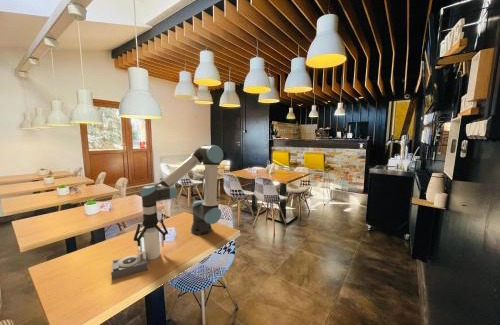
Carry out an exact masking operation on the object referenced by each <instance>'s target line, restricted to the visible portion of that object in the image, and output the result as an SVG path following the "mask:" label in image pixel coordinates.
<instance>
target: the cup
mask: <svg viewBox="0 0 500 325" xmlns="http://www.w3.org/2000/svg"><path fill="white" fill-rule="evenodd" d="M143 244H144V247H143V248H144V253H145V255H146V260H154V259H158V258H159V257H160V256H161V245H160V232H159V230H157V229H156V228H155V227H154V228H150V229H147V230H146V231H145V232H144V234H143Z"/></svg>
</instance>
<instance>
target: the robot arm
mask: <svg viewBox="0 0 500 325" xmlns="http://www.w3.org/2000/svg"><path fill="white" fill-rule="evenodd" d="M223 158H224V152H223V149H222V148H221V147H220V146H218V145H215V144H209V145H208V144H203V145H201V146H199V147H198V148H197V149H195V150H194V151H192V153H191V154H190V155H189V157H188V158H187V159H185V160H184V161H183V162H181V164H179V165H178V166H177V167H176V168H175V169H173V170H172V171H171V172H170V173H169V174H168V175H166V176H165V177H164V178H163V179H162V180H161V181H159V182H157V183H154V184H153V185H145V186H142V187H141V194H140V196H141V203H142V205H141V206H142V217H143V218H142V220H143V221H142V222H137V223H136V225H137V228H136V231H135V232H134V237H133V241H134V242H137V247H139V250H140V252H141V253H143V247H142V246H143V245H142V237H144V232H145V231H146V230H147V229H150V228H154V227H155V228H156V229H157V230H159V234H161V235H160V239H161V240H160V241H161V247H162V248H164V247H165V245H164V243H165V242H164V241H166V235H168V234H169V232H168V230H167V227H166V225H165V223H164V219H163V218H160V219H158V208H157V207H158V206H157V205H158V204H157V203H158V202H161V201H167V200H172V199H175V198H177V196H178V190H177V188H176V186H175V185H176V184H177V183H178V182H179V181H181V179H183V178H184V177H185V176H187V174H188V173H190V172H191V171H192V170H193V169H194V168H195V167H196V166H200V165H201V164H202V166H204V190H203V192H204V194H203V196H204V197H203V199H200V200H196V201H193V203H192V206H191V207H192V224H191V228H190V232H191V234H193V235H196V234H202V235H206V234H209V233H210V232H212V230H211V229H212V225H214V224H216V223H218V222H219V221H220V219H221V217H222V210H221V209H220V208H219V204H220V203H219V202H218V200H217V197H218V196H217V194H218V167H220V165H221V161H222V160H223ZM158 223H160V224H161V226H162V229H163V230H162V229H161V228H160V226H158ZM142 226H143V228H142V230H141V232H140V229H141V227H142ZM139 232H140V233H139ZM208 232H209V233H208Z"/></svg>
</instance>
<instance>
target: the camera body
mask: <svg viewBox="0 0 500 325" xmlns="http://www.w3.org/2000/svg"><path fill="white" fill-rule="evenodd" d="M111 261H112V262H111V270H110V274H111V280H112V281H113V280H116V279H119V278H123V277H127V276H130V275H133V274H136V273H141V272H145V271H148V262H147V261H148V259H146V255H145V252H141V253H138V254H133V255H131V254H130V255H128V256H125V257H122V258H114V259H113V260H111Z"/></svg>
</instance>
